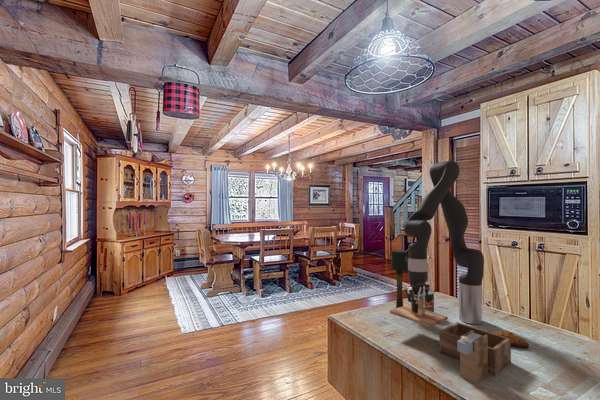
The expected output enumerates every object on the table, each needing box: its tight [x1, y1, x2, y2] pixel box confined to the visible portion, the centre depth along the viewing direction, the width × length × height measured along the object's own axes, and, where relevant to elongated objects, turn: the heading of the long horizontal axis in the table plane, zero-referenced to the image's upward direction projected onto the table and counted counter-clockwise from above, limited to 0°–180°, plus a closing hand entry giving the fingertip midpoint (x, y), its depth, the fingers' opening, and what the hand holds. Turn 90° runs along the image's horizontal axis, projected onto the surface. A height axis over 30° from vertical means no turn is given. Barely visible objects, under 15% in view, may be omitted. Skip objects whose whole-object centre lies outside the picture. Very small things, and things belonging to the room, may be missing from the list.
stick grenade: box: [390, 249, 408, 309], centre depth 153 cm, size 8×9×30 cm
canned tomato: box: [425, 289, 435, 313], centre depth 147 cm, size 8×8×11 cm
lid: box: [389, 297, 448, 328], centre depth 122 cm, size 13×18×7 cm
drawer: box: [457, 332, 482, 355], centre depth 94 cm, size 10×3×4 cm, turn 126°
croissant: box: [489, 330, 530, 349], centre depth 117 cm, size 14×7×5 cm, turn 47°
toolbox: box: [439, 321, 512, 384], centre depth 103 cm, size 22×18×12 cm
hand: (417, 311), depth 122 cm, fingers closed on lid, 3 cm apart
